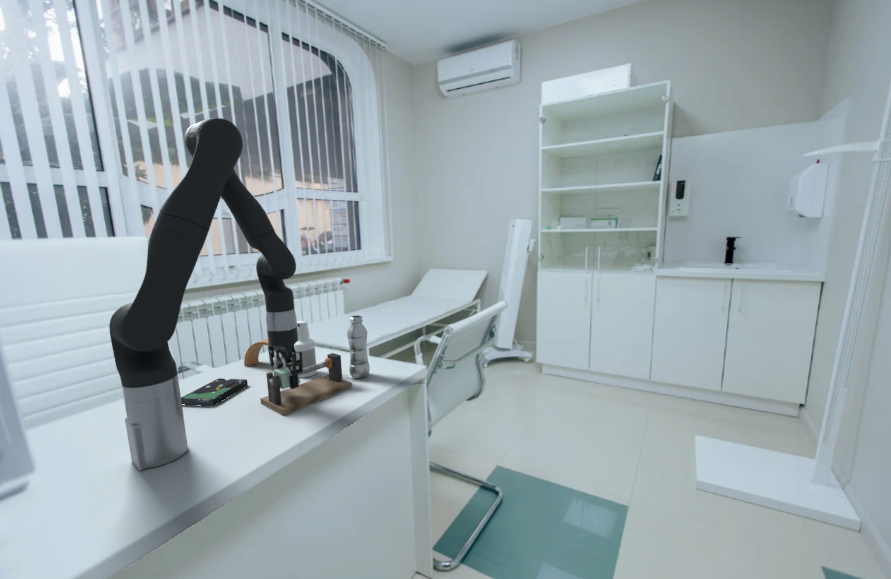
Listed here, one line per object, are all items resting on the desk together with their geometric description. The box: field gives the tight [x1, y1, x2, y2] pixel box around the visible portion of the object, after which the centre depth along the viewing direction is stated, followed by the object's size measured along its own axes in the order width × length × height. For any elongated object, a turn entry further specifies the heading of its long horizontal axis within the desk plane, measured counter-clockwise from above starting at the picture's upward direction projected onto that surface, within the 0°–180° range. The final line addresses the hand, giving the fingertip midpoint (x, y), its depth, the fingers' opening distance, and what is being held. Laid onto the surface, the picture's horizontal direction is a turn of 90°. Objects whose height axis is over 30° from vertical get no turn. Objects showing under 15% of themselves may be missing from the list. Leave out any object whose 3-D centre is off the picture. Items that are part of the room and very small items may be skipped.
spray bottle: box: [294, 320, 318, 379], centre depth 126 cm, size 7×7×18 cm
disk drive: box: [181, 377, 249, 407], centre depth 112 cm, size 10×3×15 cm
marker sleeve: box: [272, 367, 301, 390], centre depth 105 cm, size 5×4×4 cm
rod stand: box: [259, 352, 353, 416], centre depth 110 cm, size 22×12×10 cm, turn 141°
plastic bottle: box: [346, 315, 371, 379], centre depth 122 cm, size 6×7×20 cm
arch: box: [243, 338, 292, 367], centre depth 135 cm, size 6×20×10 cm, turn 69°
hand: (287, 384), depth 105 cm, fingers open, 6 cm apart
